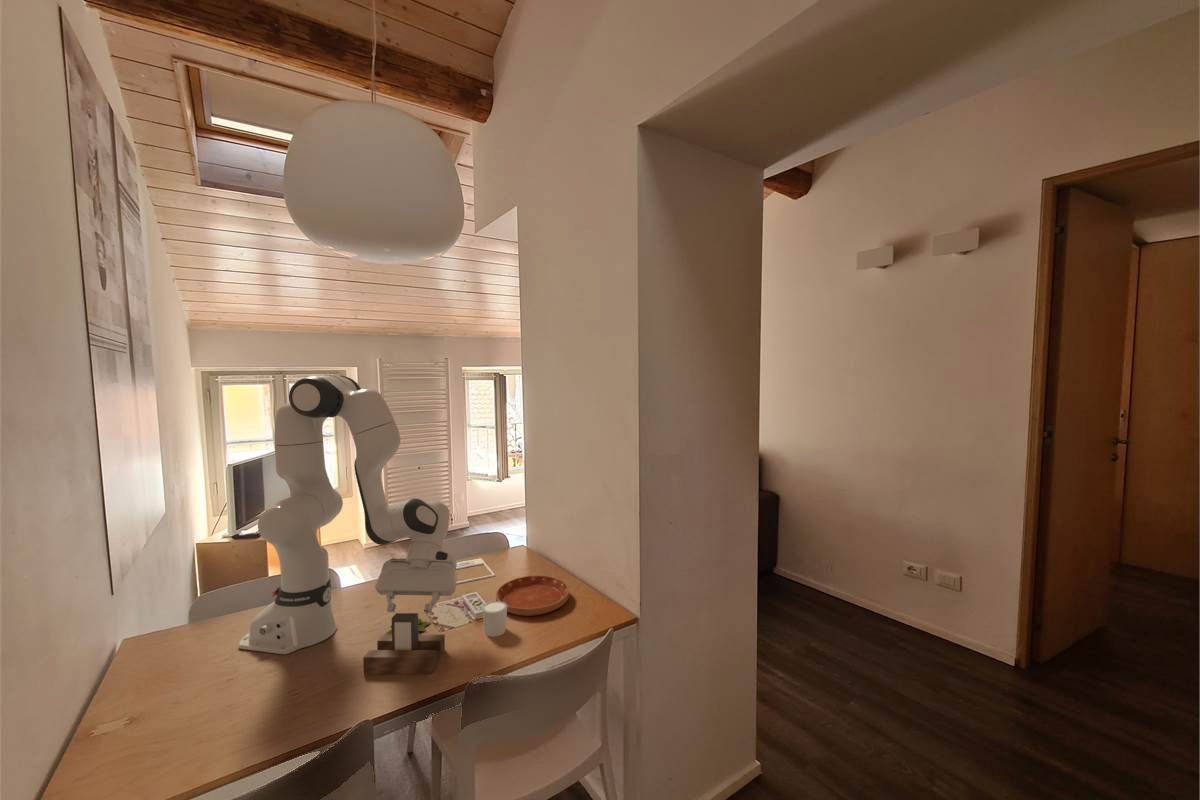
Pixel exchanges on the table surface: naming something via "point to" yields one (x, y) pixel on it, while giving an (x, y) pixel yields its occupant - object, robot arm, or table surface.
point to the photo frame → (470, 564)
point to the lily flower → (420, 626)
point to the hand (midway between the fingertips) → (408, 611)
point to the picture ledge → (404, 656)
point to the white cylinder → (494, 618)
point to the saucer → (533, 595)
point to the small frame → (405, 631)
